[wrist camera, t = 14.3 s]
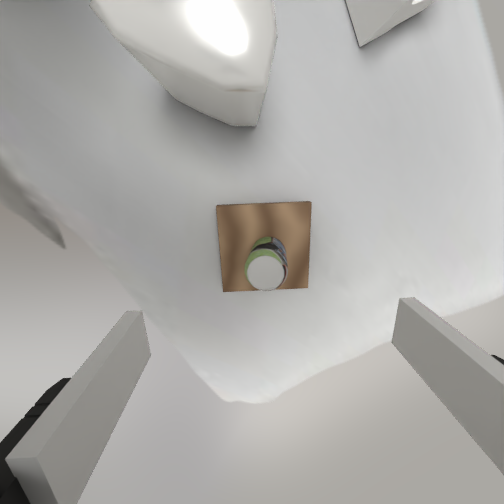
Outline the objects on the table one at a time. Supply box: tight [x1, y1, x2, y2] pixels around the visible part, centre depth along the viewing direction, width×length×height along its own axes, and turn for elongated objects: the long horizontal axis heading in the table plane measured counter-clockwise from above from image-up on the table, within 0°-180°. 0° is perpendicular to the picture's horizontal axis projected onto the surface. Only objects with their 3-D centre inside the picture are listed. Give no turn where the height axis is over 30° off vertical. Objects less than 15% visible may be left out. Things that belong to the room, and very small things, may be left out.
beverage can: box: [244, 237, 288, 291], centre depth 38 cm, size 6×7×12 cm
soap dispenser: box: [89, 0, 277, 126], centre depth 29 cm, size 15×14×22 cm
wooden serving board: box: [216, 201, 312, 292], centre depth 46 cm, size 16×16×4 cm
